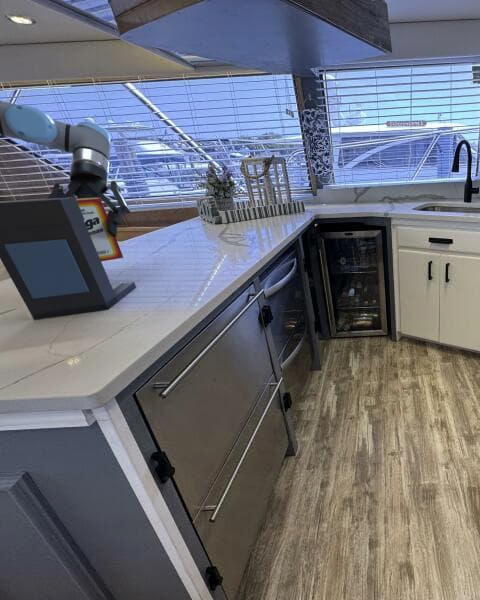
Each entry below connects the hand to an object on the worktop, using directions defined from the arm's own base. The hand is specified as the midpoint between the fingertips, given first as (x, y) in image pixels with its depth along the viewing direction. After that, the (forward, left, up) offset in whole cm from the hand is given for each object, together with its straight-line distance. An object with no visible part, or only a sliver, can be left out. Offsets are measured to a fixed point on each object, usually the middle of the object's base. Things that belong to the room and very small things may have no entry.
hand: (83, 236), depth 82 cm
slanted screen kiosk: (0, -8, -15) cm, 17 cm away
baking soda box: (0, +3, -7) cm, 8 cm away
